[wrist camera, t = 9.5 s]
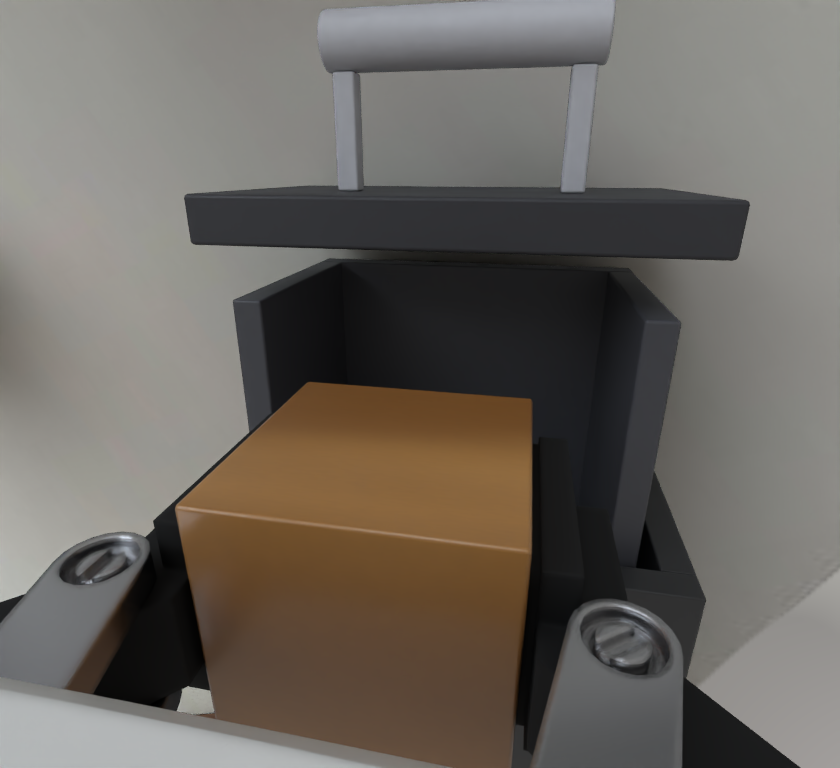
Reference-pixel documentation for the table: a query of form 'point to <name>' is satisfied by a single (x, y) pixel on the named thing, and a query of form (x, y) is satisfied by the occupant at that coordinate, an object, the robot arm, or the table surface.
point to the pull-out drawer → (477, 282)
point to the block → (370, 571)
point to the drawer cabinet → (655, 588)
